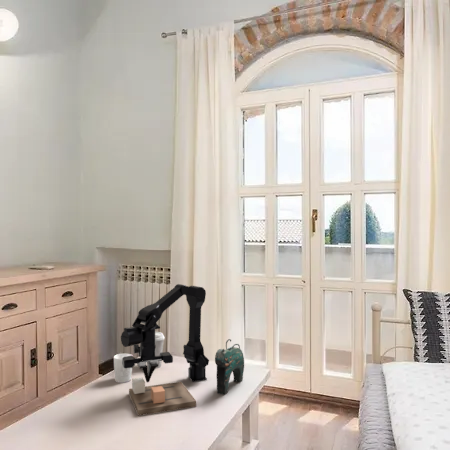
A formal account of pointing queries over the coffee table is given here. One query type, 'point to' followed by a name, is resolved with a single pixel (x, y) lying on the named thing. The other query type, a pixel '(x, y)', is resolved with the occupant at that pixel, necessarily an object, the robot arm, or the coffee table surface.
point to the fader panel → (174, 399)
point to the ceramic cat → (228, 366)
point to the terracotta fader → (157, 394)
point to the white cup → (121, 369)
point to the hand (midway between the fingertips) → (147, 381)
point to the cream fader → (138, 385)
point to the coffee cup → (158, 346)
